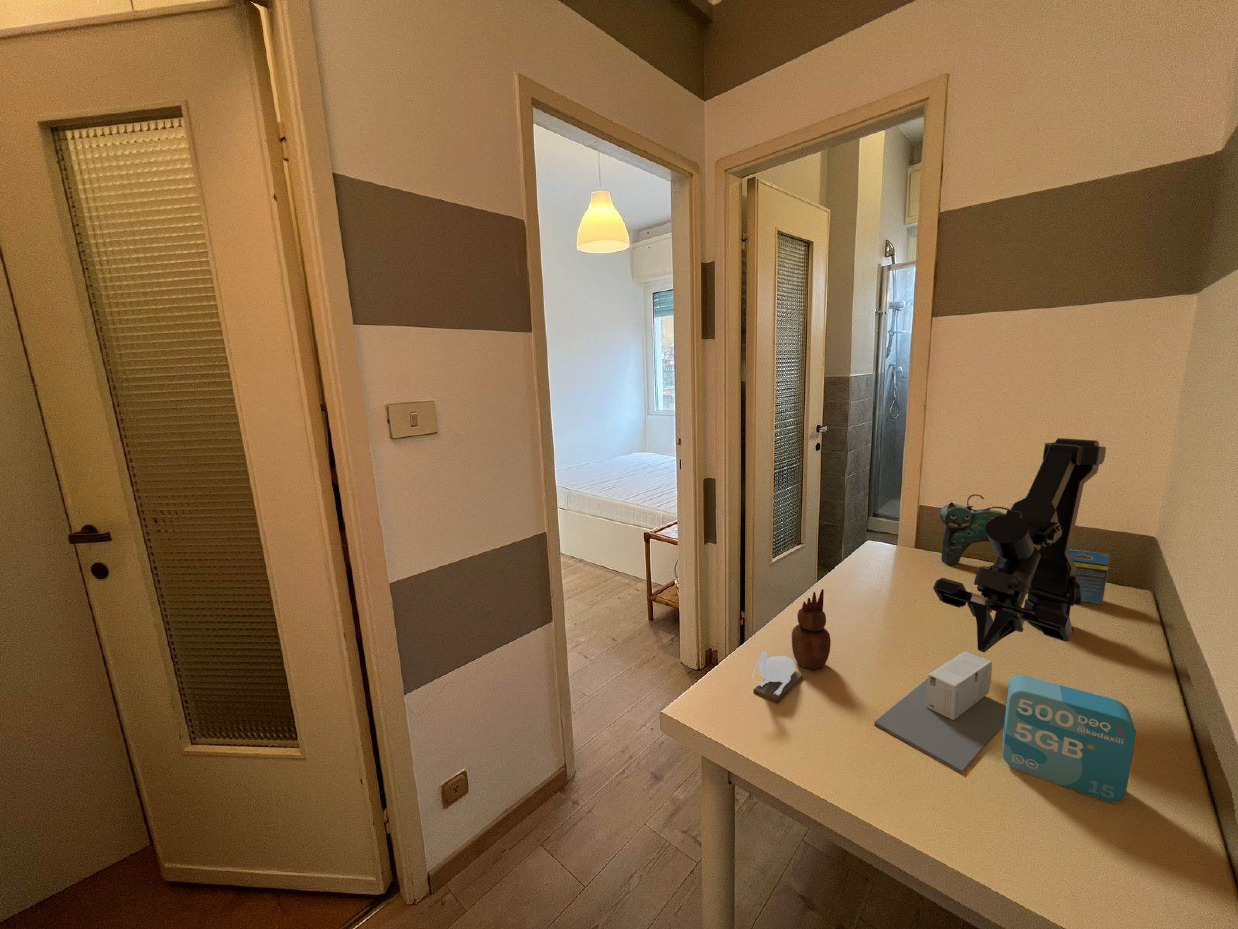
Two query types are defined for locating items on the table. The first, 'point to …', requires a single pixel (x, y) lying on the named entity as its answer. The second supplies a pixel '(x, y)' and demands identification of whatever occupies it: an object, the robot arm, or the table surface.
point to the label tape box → (1091, 574)
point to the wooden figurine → (811, 634)
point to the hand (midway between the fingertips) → (980, 650)
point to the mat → (944, 728)
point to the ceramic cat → (964, 529)
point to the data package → (1069, 737)
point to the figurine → (776, 677)
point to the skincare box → (958, 684)
